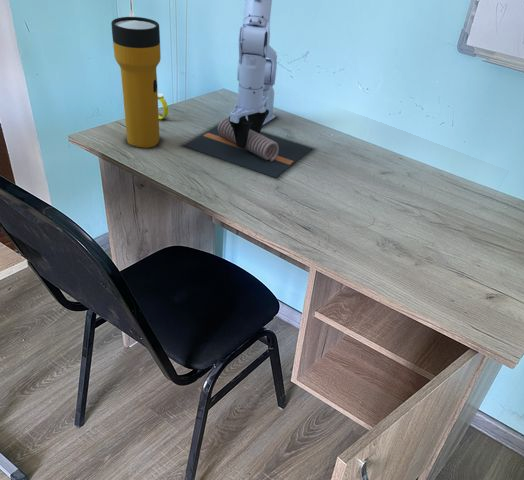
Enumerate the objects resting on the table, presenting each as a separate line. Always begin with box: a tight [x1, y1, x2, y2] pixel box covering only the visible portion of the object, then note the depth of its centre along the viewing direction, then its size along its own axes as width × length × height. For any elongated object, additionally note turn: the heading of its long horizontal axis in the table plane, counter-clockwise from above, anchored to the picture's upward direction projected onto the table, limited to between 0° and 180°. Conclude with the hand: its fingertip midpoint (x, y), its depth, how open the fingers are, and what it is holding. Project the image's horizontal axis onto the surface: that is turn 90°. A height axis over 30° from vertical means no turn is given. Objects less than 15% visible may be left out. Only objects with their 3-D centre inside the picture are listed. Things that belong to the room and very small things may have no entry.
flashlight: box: [111, 16, 162, 149], centre depth 122 cm, size 10×26×10 cm
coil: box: [217, 117, 279, 161], centre depth 131 cm, size 5×5×18 cm
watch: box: [158, 92, 169, 121], centre depth 140 cm, size 6×3×6 cm, turn 52°
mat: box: [182, 125, 314, 179], centre depth 134 cm, size 20×26×1 cm
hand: (247, 143), depth 132 cm, fingers closed on coil, 5 cm apart
